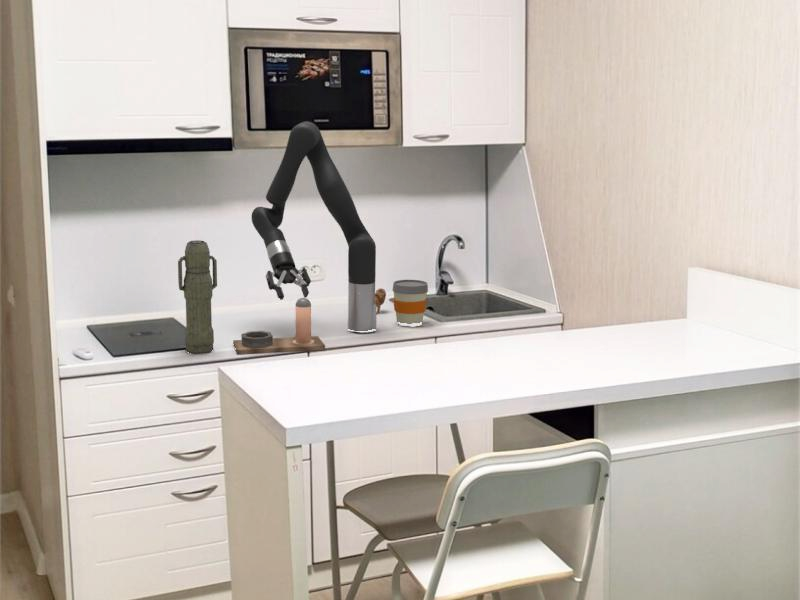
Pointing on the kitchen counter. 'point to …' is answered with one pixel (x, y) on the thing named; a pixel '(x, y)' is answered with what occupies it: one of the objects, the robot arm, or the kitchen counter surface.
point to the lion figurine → (379, 298)
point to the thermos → (198, 296)
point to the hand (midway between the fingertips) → (294, 297)
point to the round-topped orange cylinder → (303, 321)
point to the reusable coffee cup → (410, 300)
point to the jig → (273, 344)
